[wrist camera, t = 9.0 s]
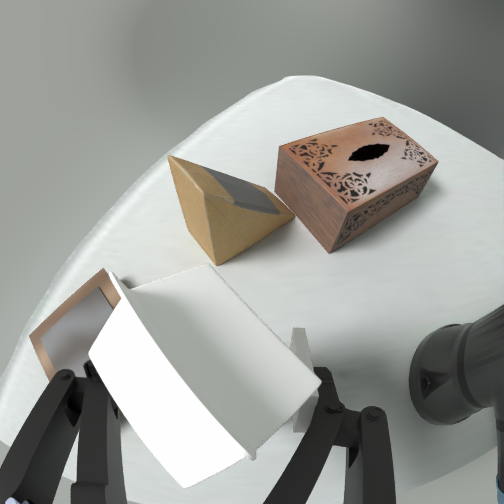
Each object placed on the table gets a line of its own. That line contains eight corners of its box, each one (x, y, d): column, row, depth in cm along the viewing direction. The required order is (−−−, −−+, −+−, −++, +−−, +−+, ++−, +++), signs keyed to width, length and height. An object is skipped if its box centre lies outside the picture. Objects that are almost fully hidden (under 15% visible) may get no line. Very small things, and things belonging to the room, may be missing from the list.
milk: (230, 434, 22) (150, 528, 3) (190, 388, 24) (29, 329, 6) (277, 395, 24) (360, 371, 5) (236, 352, 27) (192, 205, 8)
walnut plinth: (179, 364, 32) (170, 358, 28) (96, 433, 25) (79, 434, 22) (114, 280, 37) (102, 266, 34) (44, 343, 31) (27, 335, 28)
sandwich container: (298, 217, 44) (314, 141, 31) (217, 269, 39) (203, 195, 26) (264, 186, 47) (268, 111, 35) (187, 229, 42) (166, 154, 30)
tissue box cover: (328, 254, 40) (347, 212, 32) (274, 192, 47) (279, 146, 38) (417, 197, 48) (438, 161, 39) (369, 153, 54) (382, 116, 45)
